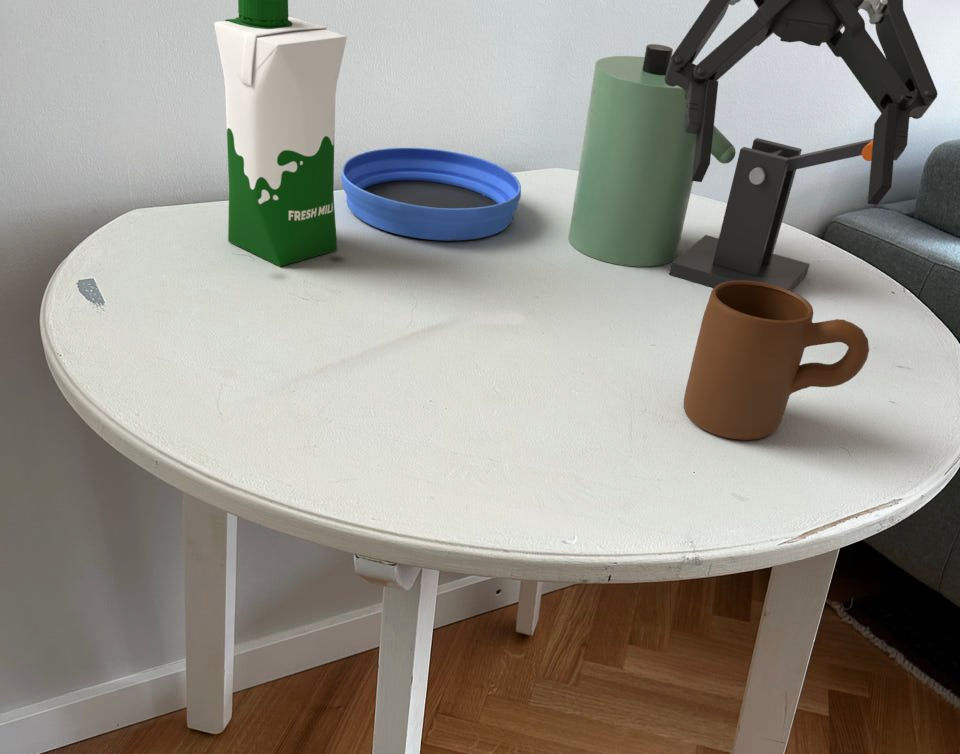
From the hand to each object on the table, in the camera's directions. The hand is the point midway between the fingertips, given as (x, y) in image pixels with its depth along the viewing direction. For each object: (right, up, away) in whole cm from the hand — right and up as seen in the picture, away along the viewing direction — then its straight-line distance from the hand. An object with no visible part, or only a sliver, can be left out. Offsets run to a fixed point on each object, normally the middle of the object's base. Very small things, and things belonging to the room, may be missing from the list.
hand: (790, 184), depth 84 cm
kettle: (-7, +5, +27) cm, 29 cm away
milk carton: (-41, +2, +18) cm, 45 cm away
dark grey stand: (+2, +1, +25) cm, 25 cm away
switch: (+7, +8, +17) cm, 20 cm away
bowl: (-29, +9, +30) cm, 42 cm away
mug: (-2, -18, +1) cm, 18 cm away
